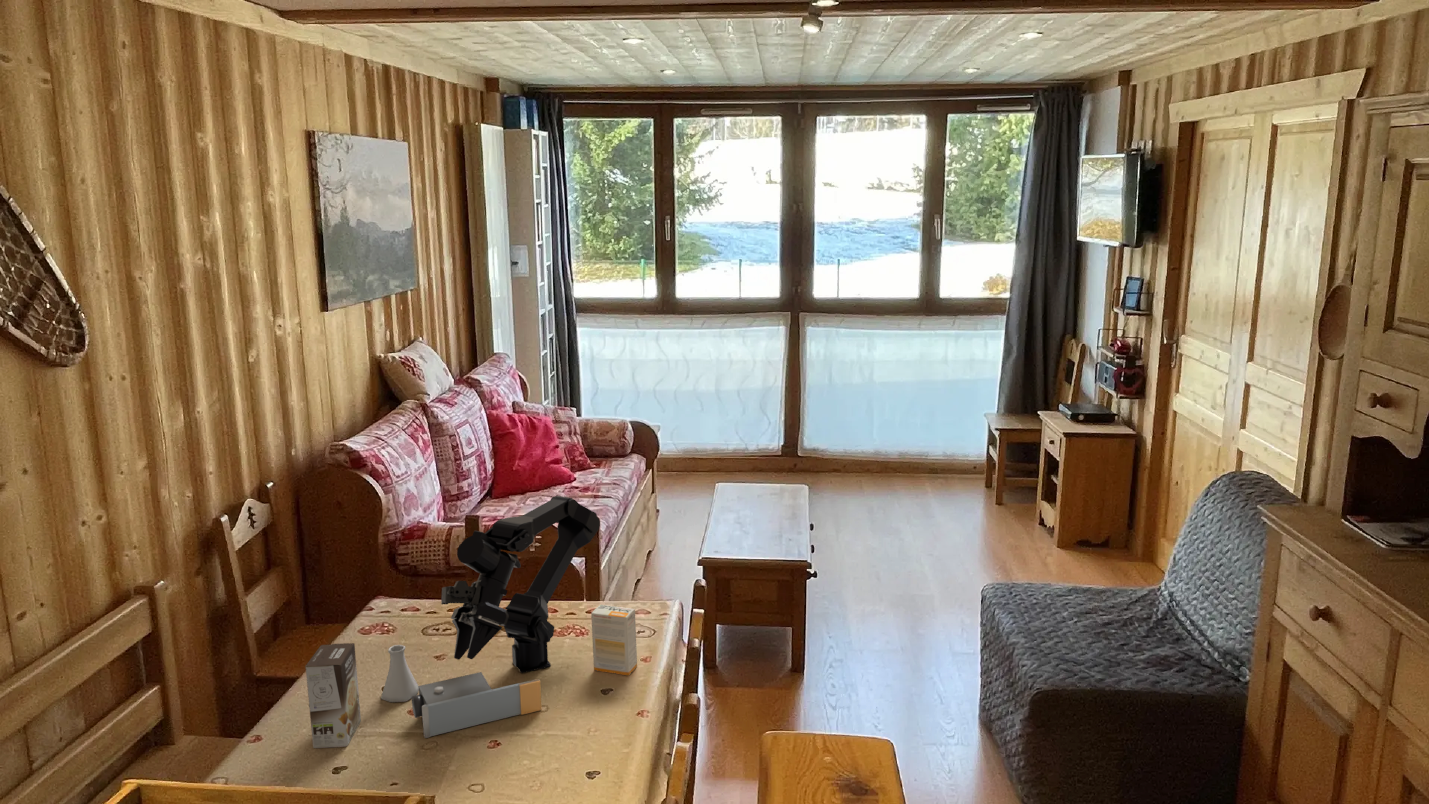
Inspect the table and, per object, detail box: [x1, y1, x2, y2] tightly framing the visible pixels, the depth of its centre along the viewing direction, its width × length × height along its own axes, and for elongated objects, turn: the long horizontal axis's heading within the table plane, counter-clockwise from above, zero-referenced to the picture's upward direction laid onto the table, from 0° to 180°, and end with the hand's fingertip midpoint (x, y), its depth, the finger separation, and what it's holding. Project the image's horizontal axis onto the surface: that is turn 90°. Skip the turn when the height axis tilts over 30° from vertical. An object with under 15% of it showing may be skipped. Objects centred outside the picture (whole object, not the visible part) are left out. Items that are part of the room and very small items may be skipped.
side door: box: [421, 678, 543, 739], centre depth 186 cm, size 22×1×6 cm, turn 117°
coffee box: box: [305, 642, 362, 749], centre depth 182 cm, size 9×6×16 cm
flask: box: [380, 644, 420, 703], centre depth 197 cm, size 7×7×10 cm
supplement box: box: [590, 604, 638, 677], centre depth 207 cm, size 8×5×13 cm, turn 71°
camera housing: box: [411, 671, 493, 720], centre depth 188 cm, size 14×8×7 cm, turn 117°
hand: (463, 658), depth 189 cm, fingers open, 9 cm apart
